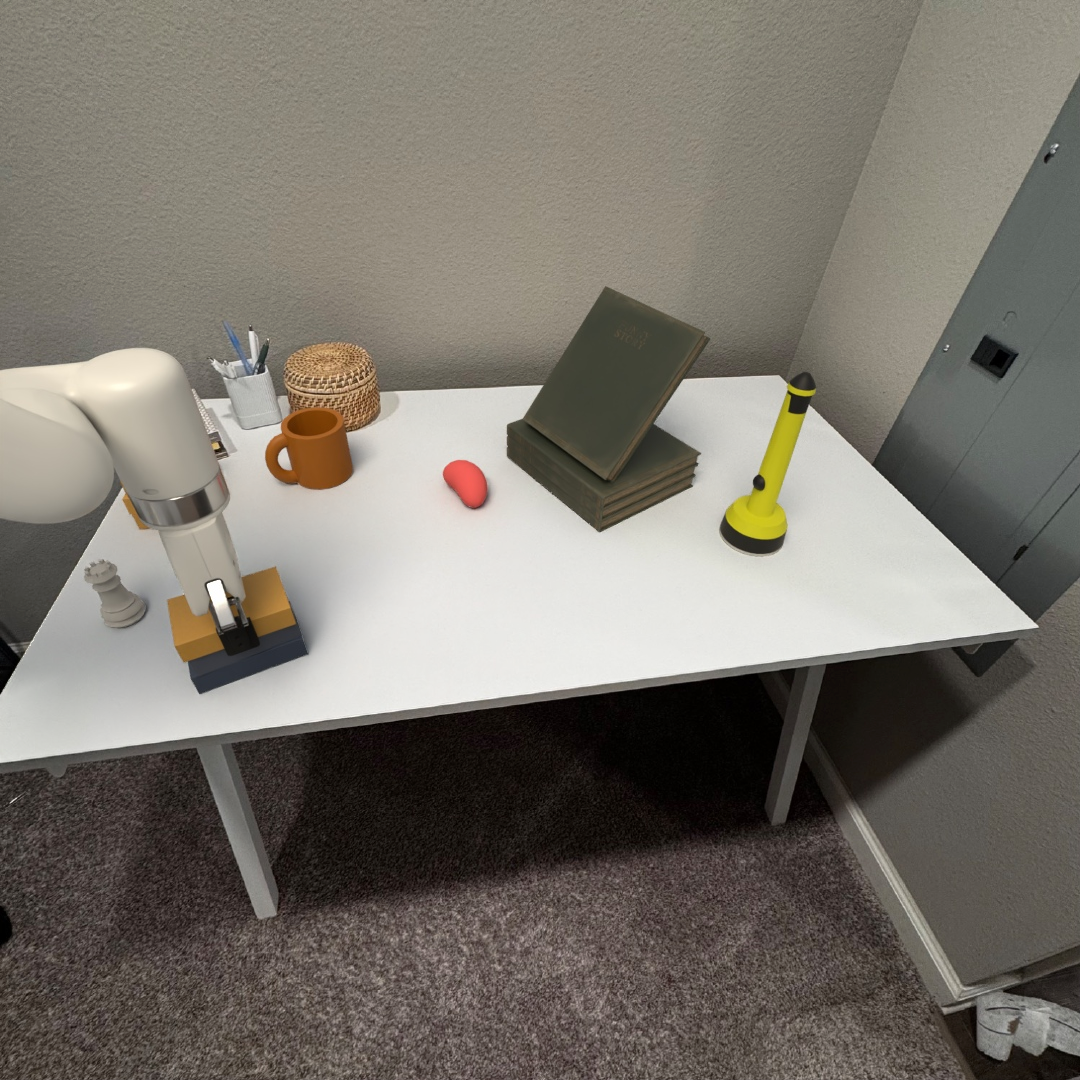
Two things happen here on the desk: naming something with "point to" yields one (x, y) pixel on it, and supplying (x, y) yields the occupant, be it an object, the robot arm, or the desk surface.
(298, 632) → the slate books
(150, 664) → the desk surface
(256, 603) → the orange tan block
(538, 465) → the olive book stack
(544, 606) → the desk surface
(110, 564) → the rook chess piece
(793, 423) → the flashlight
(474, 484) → the red kidney bean
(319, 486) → the mug
